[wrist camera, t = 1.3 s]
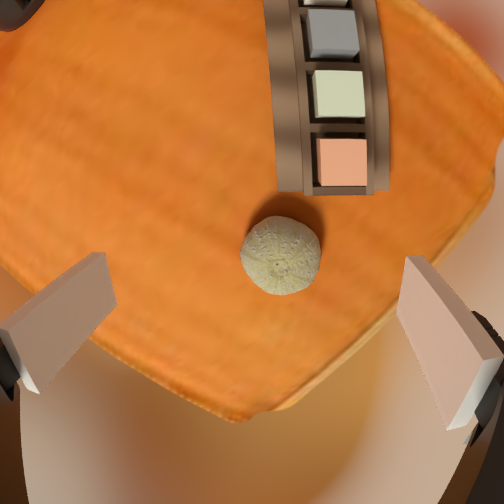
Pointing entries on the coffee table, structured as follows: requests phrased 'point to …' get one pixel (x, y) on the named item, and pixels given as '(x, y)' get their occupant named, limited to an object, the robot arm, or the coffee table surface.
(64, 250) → the coffee table surface
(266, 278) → the sea urchin shell
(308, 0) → the ivory key
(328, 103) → the sage key
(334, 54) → the slate key
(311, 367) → the coffee table surface
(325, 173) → the terracotta key
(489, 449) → the robot arm
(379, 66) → the brown stepped piece
